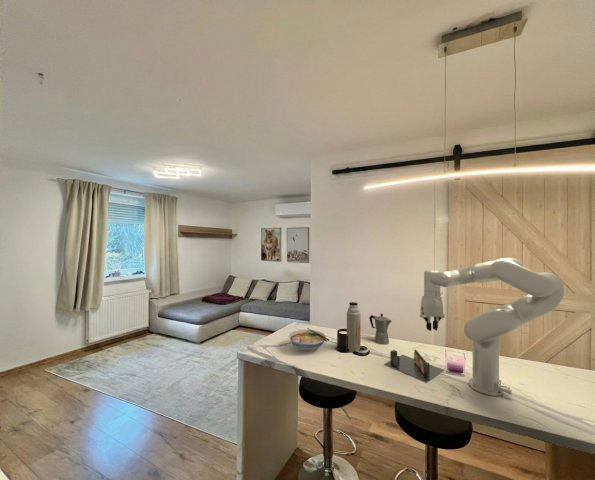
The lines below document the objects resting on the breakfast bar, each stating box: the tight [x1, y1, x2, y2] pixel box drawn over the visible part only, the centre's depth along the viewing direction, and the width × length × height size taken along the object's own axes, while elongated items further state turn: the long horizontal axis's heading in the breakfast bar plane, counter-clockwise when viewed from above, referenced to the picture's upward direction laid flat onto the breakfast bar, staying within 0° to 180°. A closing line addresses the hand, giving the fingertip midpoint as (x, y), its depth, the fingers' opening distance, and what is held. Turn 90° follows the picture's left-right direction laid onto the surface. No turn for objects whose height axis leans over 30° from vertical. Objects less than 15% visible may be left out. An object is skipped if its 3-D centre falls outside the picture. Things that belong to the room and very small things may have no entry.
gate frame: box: [383, 349, 445, 383], centre depth 133 cm, size 22×18×7 cm
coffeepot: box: [369, 313, 392, 345], centre depth 168 cm, size 15×9×18 cm, turn 44°
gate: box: [413, 349, 427, 374], centre depth 131 cm, size 14×2×6 cm, turn 173°
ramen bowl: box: [288, 327, 330, 352], centre depth 157 cm, size 25×23×8 cm
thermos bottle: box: [346, 301, 362, 353], centre depth 154 cm, size 8×8×28 cm
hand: (432, 329), depth 134 cm, fingers open, 2 cm apart
